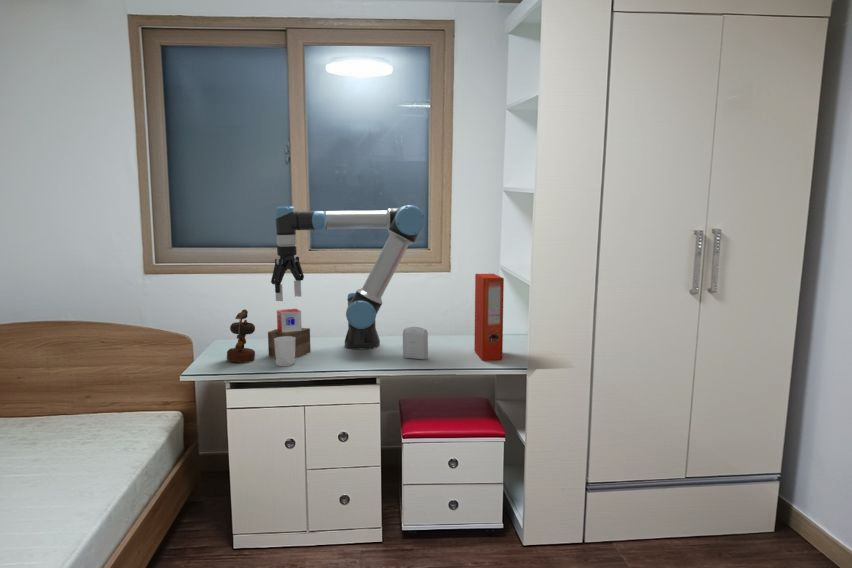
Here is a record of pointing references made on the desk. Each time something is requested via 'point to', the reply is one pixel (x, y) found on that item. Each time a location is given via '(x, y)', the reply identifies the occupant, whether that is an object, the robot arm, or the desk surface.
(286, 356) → the white cup
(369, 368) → the desk surface
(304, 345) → the walnut pedestal
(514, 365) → the desk surface
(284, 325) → the red white patterned cube
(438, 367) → the desk surface
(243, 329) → the brown tall carved piece
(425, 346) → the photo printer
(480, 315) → the file binder
